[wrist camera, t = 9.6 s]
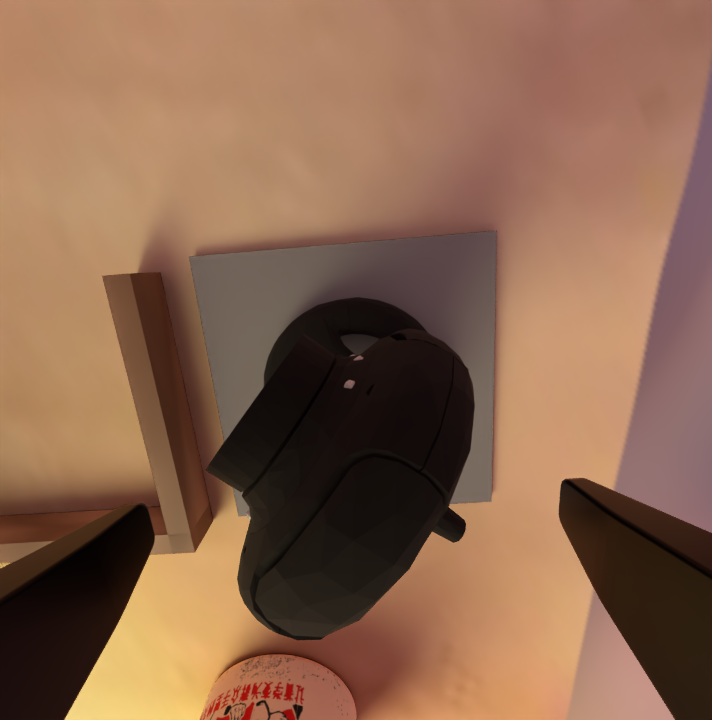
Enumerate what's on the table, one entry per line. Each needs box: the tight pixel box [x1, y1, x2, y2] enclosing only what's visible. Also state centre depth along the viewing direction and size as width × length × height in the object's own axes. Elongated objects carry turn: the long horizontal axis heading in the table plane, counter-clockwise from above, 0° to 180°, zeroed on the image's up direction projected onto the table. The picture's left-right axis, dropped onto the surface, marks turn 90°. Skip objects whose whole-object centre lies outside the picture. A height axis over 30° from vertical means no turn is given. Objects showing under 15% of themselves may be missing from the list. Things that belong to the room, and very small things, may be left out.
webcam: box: [206, 297, 475, 640], centre depth 11 cm, size 8×8×10 cm
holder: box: [0, 273, 213, 563], centre depth 16 cm, size 15×12×2 cm
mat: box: [189, 231, 497, 516], centre depth 16 cm, size 12×12×1 cm
